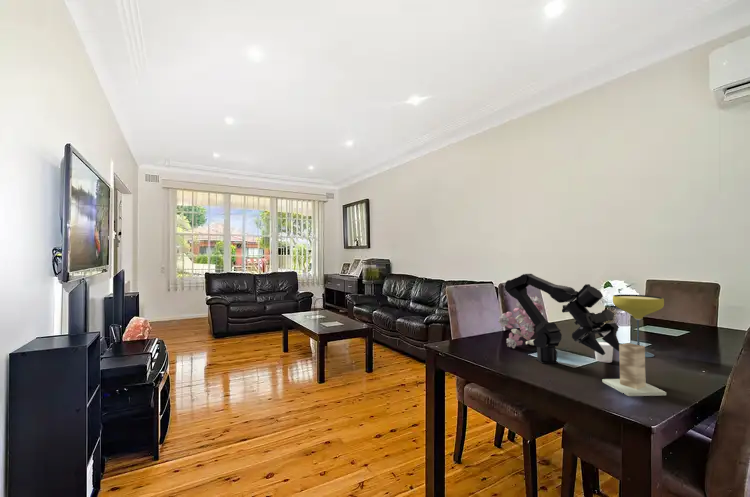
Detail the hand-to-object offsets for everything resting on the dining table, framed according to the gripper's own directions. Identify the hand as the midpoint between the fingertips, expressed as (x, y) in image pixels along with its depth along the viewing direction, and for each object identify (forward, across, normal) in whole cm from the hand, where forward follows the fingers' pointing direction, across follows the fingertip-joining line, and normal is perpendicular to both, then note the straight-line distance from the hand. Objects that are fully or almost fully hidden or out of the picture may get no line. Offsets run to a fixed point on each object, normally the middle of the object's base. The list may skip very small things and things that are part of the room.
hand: (612, 352), depth 121 cm
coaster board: (+12, 0, +3) cm, 12 cm away
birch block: (+11, 0, +2) cm, 11 cm away
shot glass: (-4, +22, +19) cm, 30 cm away
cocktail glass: (-4, +44, +19) cm, 48 cm away
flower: (-26, +9, +41) cm, 50 cm away
